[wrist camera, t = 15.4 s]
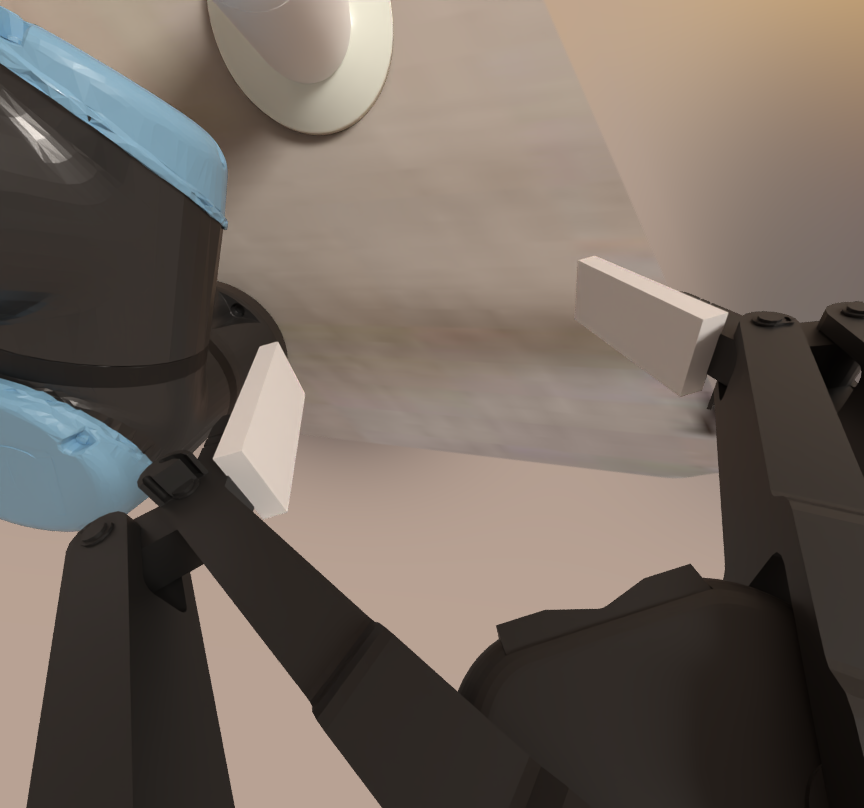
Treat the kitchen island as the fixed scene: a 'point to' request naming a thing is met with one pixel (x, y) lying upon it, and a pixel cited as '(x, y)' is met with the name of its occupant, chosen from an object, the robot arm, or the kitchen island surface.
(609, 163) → the kitchen island surface
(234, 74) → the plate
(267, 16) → the pill bottle
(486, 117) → the kitchen island surface
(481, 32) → the kitchen island surface
